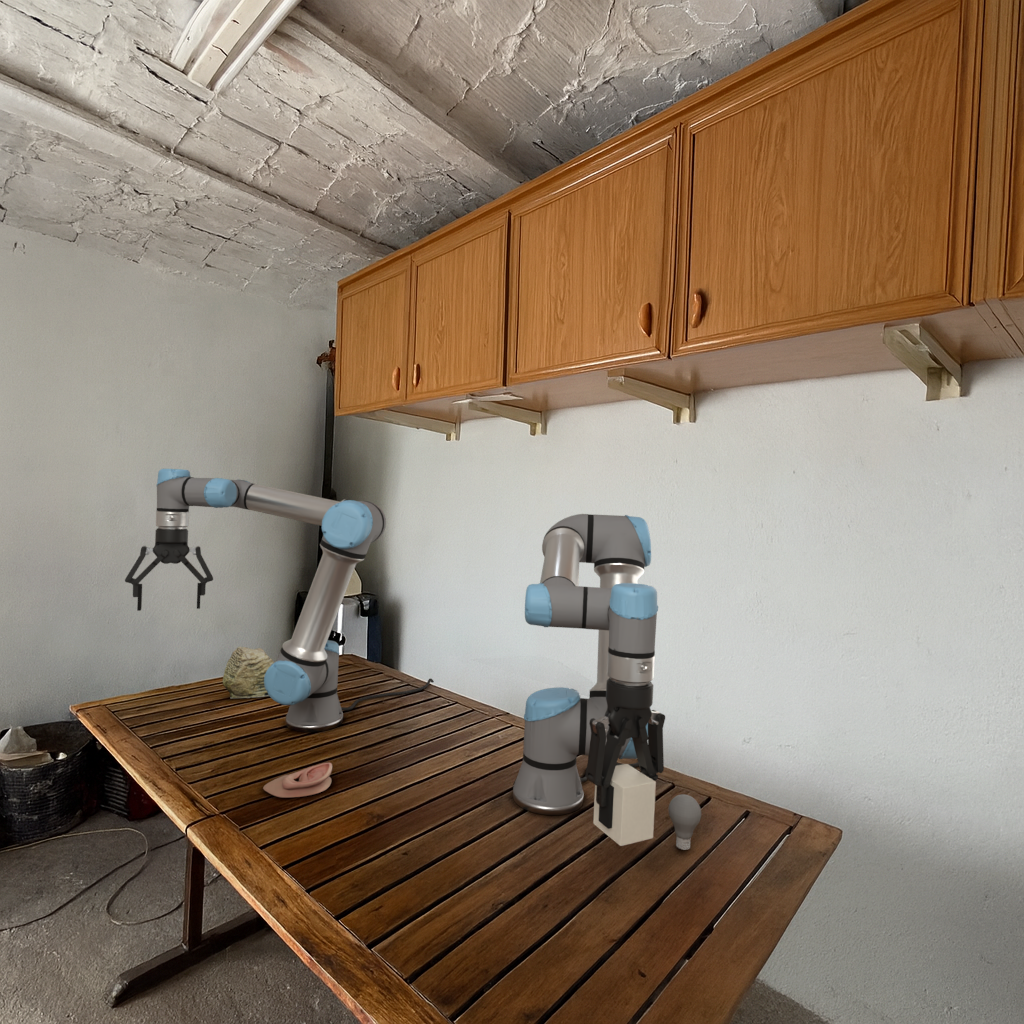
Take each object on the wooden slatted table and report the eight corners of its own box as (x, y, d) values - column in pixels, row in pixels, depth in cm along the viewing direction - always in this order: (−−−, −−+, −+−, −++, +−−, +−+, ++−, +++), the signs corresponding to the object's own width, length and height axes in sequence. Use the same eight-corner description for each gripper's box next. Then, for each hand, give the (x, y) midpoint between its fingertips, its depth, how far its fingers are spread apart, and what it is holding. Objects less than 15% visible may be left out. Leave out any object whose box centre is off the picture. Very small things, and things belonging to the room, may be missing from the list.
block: (593, 823, 105) (595, 769, 105) (624, 816, 108) (627, 763, 108) (620, 846, 99) (623, 788, 98) (653, 838, 101) (656, 781, 101)
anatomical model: (255, 775, 133) (285, 754, 145) (254, 793, 133) (285, 771, 145) (313, 783, 131) (339, 761, 142) (312, 802, 131) (338, 779, 142)
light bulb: (662, 839, 122) (664, 788, 122) (692, 839, 123) (695, 788, 122) (672, 857, 116) (675, 803, 116) (704, 857, 117) (707, 803, 116)
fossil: (218, 695, 195) (220, 647, 195) (278, 685, 208) (279, 640, 207) (228, 703, 189) (230, 653, 188) (289, 692, 201) (290, 645, 201)
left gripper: (114, 527, 157) (111, 613, 157) (225, 529, 168) (222, 609, 168) (117, 526, 163) (115, 608, 164) (223, 527, 174) (221, 604, 175)
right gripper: (593, 691, 95) (586, 843, 96) (691, 680, 104) (685, 819, 104) (566, 678, 102) (560, 820, 102) (661, 669, 111) (655, 799, 111)
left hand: (169, 608), depth 166 cm, fingers open, 13 cm apart
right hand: (623, 819), depth 103 cm, fingers closed on block, 6 cm apart
